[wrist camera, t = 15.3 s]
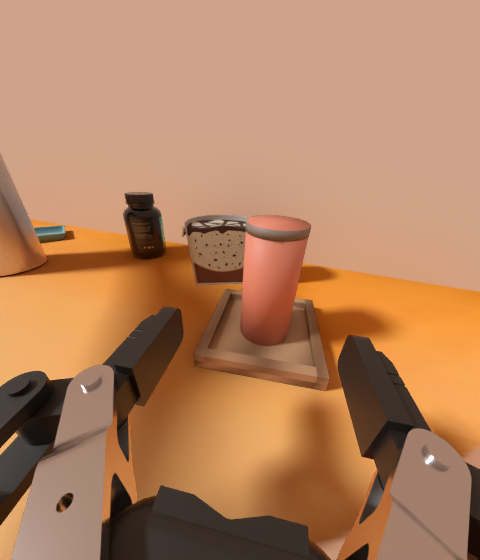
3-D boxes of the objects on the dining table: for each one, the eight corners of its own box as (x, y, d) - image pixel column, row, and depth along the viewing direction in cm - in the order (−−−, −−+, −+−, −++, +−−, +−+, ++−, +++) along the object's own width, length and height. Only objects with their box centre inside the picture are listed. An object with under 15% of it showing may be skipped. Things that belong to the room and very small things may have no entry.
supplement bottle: (173, 251, 46) (165, 193, 40) (149, 262, 40) (137, 196, 34) (150, 246, 48) (140, 190, 42) (124, 255, 43) (109, 193, 37)
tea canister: (234, 341, 21) (240, 227, 16) (244, 309, 26) (251, 213, 20) (288, 350, 21) (314, 234, 15) (287, 316, 25) (307, 218, 20)
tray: (194, 366, 20) (193, 354, 19) (225, 298, 30) (225, 288, 29) (325, 391, 18) (329, 379, 17) (309, 309, 28) (312, 300, 28)
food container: (255, 267, 40) (259, 214, 35) (261, 283, 34) (267, 223, 30) (190, 268, 38) (185, 213, 34) (186, 285, 33) (180, 222, 28)
